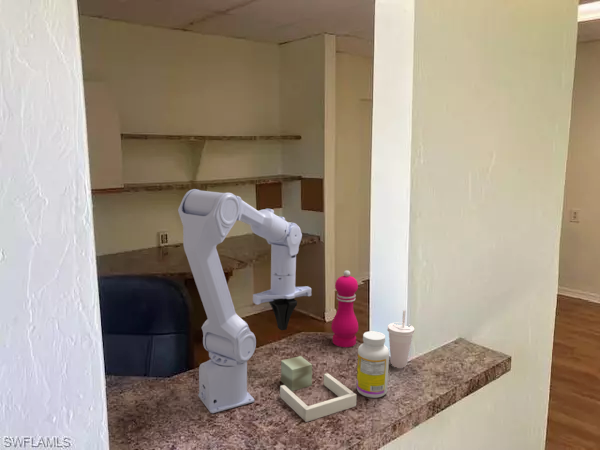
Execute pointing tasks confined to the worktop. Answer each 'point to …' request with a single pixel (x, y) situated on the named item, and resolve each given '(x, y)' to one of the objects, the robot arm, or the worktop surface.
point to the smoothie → (400, 342)
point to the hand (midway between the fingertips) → (282, 328)
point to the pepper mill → (345, 312)
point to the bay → (323, 408)
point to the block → (296, 373)
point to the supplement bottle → (372, 365)
